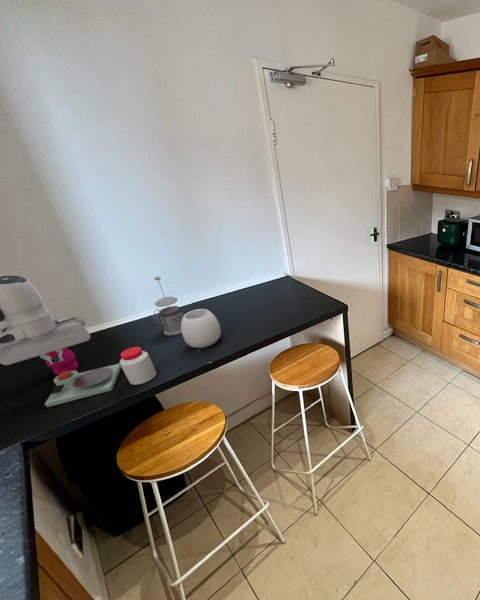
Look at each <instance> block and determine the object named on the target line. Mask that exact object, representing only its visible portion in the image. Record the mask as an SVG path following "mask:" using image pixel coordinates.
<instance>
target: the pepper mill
mask: <svg viewBox="0 0 480 600" xmlns="http://www.w3.org/2000/svg"><path fill="white" fill-rule="evenodd" d="M57 355H58V353H57V352H56V351H52V352H49V353H47V356H50V357H54V356H57ZM62 357H63V360H64V361H61V362H57V363H54V364H50V362H49V361H47V360H45V364H46V365H47V367H48V368H50V369H52V371H53V373H54V374H55V375H56V376H58V375H59V374H60V373H62V372H65V371H77V369H78V368H79V366H80V365H79V363H78V361H76V358H77V356H76V354H75V353H74V352H73V351H72V350H70V349H69V348H68V347H65V348H63V353H62Z"/></svg>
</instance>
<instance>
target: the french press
mask: <svg viewBox="0 0 480 600" xmlns="http://www.w3.org/2000/svg"><path fill="white" fill-rule="evenodd" d="M154 280H155V281H158V284H159V287H160V290H161V292H162V295H163V297H161V298H159V299H157V300H156V301H155V303H154V305H155V307H159V308H156V309H155V310H154V313H153V319H154V322H156V324H159V325H163V327H164V329H163V330H164V331H163V334H164V335H165V336H176V335H179V334H182V331H181V322H182V319H183V316H184V313H183V311H182V309H181V308H180V306H178V305H173V304H176V303H177V301H178V300H179V299H178V297H175V296H165V293H164V291H163V288H162V285H161V283H160V280H161V277H160V276H155V277H154ZM171 305H172V306H171ZM162 307H163V308H162ZM156 311H157V314H156ZM155 314H156V315H155ZM155 316H156V318H155ZM159 317H160V318H159ZM156 319H157V320H156ZM159 319H161V321H160V320H159Z"/></svg>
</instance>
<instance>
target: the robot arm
mask: <svg viewBox="0 0 480 600" xmlns="http://www.w3.org/2000/svg"><path fill="white" fill-rule="evenodd" d="M1 322H6V323H7V324H8V325H6V326H4V327H2V328H0V364H1V365H3V366H10V365H12V364H16V363H19V362H23V361H26V360H29V359H32V358H36V357H40V359H43V360H45V361H46V360H47V361H49V362H50V364H54V363H57V362H61V361H64V360H63V357H62V353H63V348H69V347H72V346H75V345H79V344H81V343H86V342H88V341H90V339H91V337H92V336H91V333H90V332H89V330H88V329H87V327H86V322H85V320H84V318H83V317H82V316H74V315H72V316H68V317H65V318H60V319H56V320H55V318H54V316H53V315H52V313H51V312H50V310H49V309H48V308H47V307H46V306H45V304H44V300H43V298H42V296H41V294H40V293H39V292H38V290H37V288H36V287H35V286H34V285H33V284H32V282H30V281H29V280H28V279H27V278H26V277H24V276H19V275H1V276H0V323H1ZM52 351H56V352H57V353H58V355H57V356H54V357H50V356H47V353H49V352H52Z"/></svg>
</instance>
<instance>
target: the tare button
mask: <svg viewBox="0 0 480 600" xmlns="http://www.w3.org/2000/svg"><path fill="white" fill-rule="evenodd" d="M57 376H58V377H59V378H60V380H64V379H67V378H70V377H71V376H72V373H71V372H70V371H65V372H62V373H60V374H59V375H57Z"/></svg>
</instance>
